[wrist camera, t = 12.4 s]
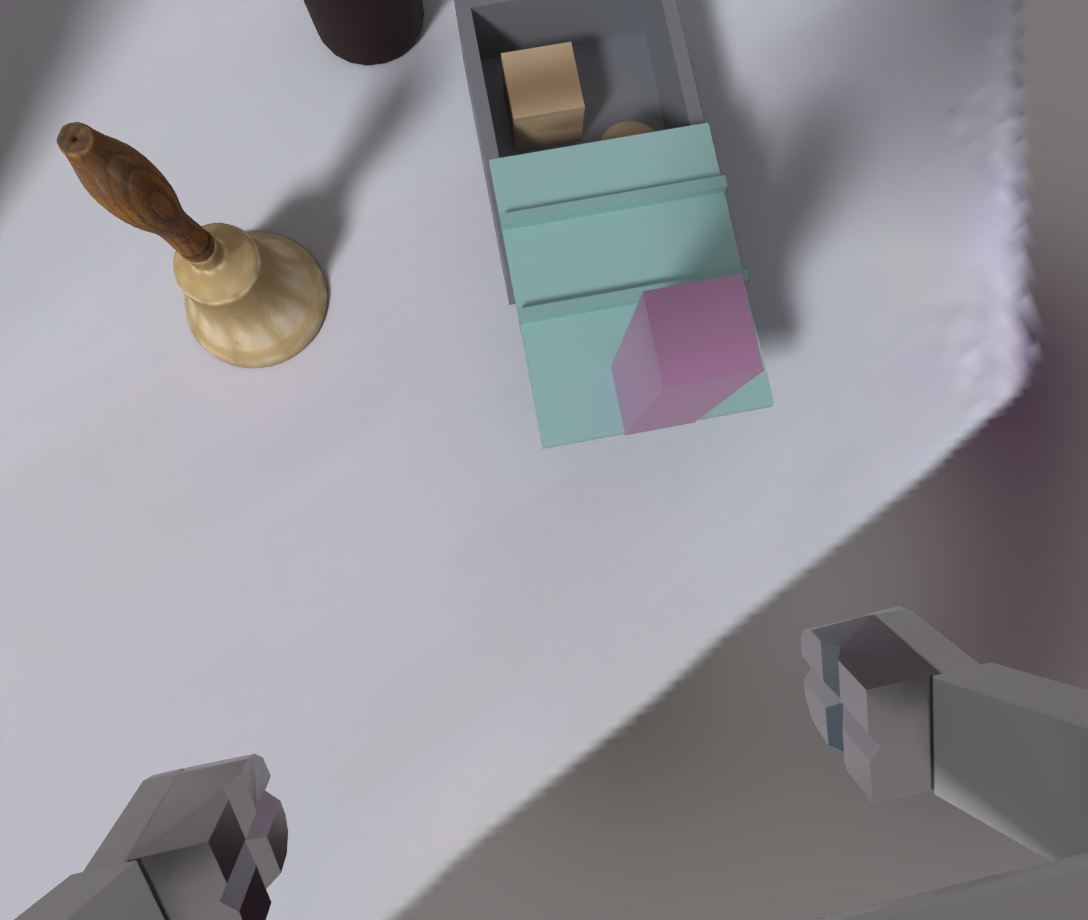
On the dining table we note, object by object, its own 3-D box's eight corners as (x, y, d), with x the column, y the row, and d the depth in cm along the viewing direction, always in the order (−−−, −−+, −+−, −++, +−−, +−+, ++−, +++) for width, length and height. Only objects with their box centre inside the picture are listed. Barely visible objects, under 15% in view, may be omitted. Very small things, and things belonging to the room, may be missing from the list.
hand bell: (311, 219, 40) (160, 5, 24) (342, 348, 39) (206, 216, 23) (175, 252, 39) (-71, 58, 23) (202, 384, 38) (-34, 274, 22)
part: (503, 89, 40) (500, 53, 37) (568, 78, 40) (571, 41, 37) (515, 150, 39) (513, 118, 36) (581, 139, 39) (584, 106, 36)
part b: (588, 158, 39) (592, 126, 36) (647, 148, 39) (656, 116, 36) (600, 214, 39) (605, 187, 36) (659, 204, 39) (669, 176, 36)
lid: (489, 166, 34) (468, 2, 24) (705, 129, 35) (777, -48, 24) (543, 451, 33) (546, 410, 22) (770, 409, 33) (879, 349, 23)
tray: (463, 60, 41) (453, -4, 36) (652, 28, 41) (667, -38, 36) (509, 304, 39) (505, 271, 34) (706, 269, 39) (730, 232, 35)
